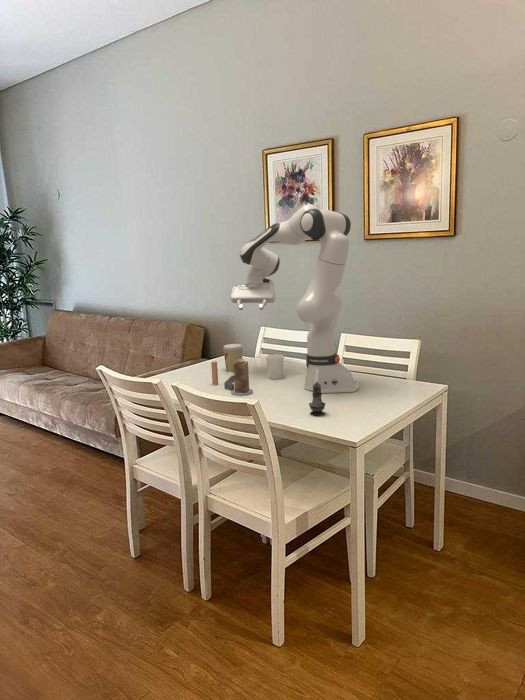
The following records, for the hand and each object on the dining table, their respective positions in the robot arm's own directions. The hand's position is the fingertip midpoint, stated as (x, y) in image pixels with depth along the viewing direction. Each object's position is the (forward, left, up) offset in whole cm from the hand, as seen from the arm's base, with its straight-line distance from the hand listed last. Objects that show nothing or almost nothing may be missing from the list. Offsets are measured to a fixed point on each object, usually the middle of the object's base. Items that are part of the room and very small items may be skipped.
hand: (250, 309), depth 231 cm
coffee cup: (+13, -14, -32) cm, 37 cm away
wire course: (+8, +13, -31) cm, 35 cm away
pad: (-1, +24, -31) cm, 39 cm away
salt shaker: (-34, +47, -32) cm, 66 cm away
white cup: (-10, -1, -32) cm, 33 cm away
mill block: (-1, +24, -31) cm, 39 cm away
